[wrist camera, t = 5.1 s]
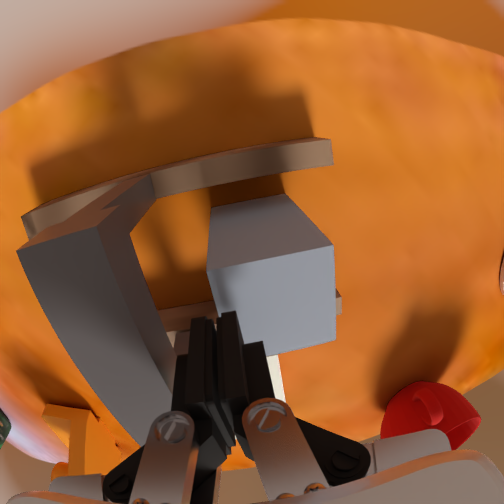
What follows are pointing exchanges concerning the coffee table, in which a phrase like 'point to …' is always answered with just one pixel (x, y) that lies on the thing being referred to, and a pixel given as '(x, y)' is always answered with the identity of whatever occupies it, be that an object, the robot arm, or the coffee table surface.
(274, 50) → the coffee table surface
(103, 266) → the grey arch
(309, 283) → the block
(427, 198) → the coffee table surface
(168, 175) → the rack
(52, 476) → the bracket
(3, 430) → the coffee jar
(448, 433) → the ceramic cup
